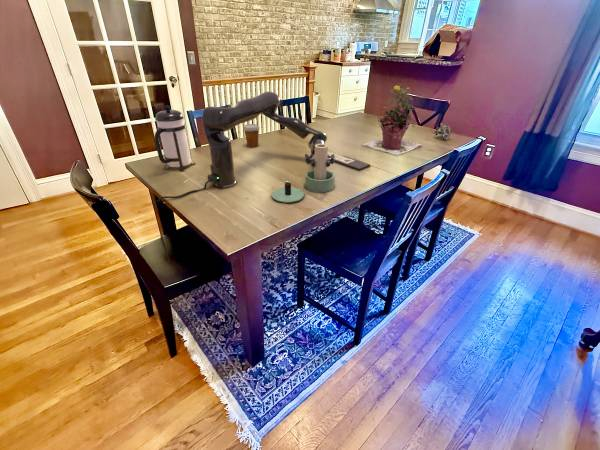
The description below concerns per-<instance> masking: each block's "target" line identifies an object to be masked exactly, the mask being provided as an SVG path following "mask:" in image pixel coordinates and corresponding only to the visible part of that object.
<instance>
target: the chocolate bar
mask: <svg viewBox="0 0 600 450" xmlns="http://www.w3.org/2000/svg"><path fill="white" fill-rule="evenodd" d="M334 163H336V164H339V165H342V166H345V167H348V168H350V169H353V170H356V171H359V172H360V171H362V170H364V169H367V168H369V167H371V164H370V163H367V162H364V161H360V160H357V159H355V158H352V157H349V156H346V155H342V156H339V157H336V158H335V160H334Z"/></svg>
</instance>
